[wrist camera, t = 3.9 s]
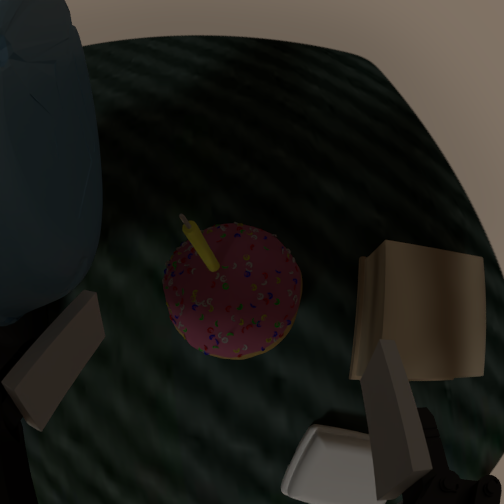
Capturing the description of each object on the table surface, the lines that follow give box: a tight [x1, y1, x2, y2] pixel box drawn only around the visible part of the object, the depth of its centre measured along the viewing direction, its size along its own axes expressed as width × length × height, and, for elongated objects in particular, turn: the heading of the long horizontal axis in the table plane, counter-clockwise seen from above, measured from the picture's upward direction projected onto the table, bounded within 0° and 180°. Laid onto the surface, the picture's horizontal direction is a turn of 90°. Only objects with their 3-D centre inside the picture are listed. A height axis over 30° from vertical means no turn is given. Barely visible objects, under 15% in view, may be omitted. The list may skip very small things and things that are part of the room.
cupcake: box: [162, 214, 302, 359], centre depth 17 cm, size 9×8×12 cm
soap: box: [281, 424, 387, 504], centre depth 17 cm, size 9×7×3 cm
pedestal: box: [349, 240, 486, 381], centre depth 20 cm, size 10×10×5 cm
